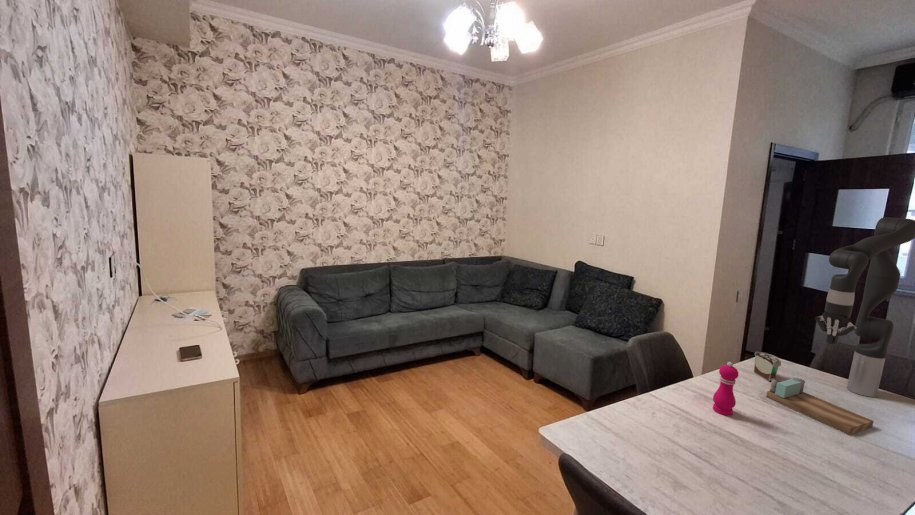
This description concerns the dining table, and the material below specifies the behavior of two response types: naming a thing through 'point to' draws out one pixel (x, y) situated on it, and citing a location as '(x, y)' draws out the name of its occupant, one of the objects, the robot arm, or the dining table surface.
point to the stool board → (822, 411)
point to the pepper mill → (725, 390)
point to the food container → (766, 365)
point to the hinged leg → (790, 387)
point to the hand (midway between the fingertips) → (831, 343)
